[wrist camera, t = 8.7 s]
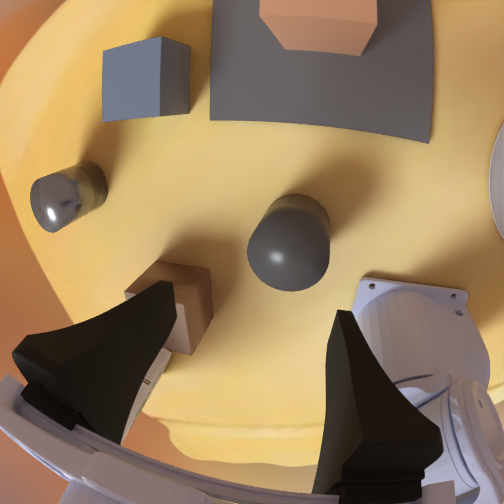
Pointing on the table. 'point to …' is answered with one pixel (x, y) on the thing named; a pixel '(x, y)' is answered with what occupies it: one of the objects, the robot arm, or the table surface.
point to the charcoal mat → (326, 73)
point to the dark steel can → (68, 195)
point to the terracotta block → (321, 24)
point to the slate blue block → (145, 80)
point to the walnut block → (181, 301)
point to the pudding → (497, 181)
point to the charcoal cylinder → (291, 244)
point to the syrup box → (147, 386)
